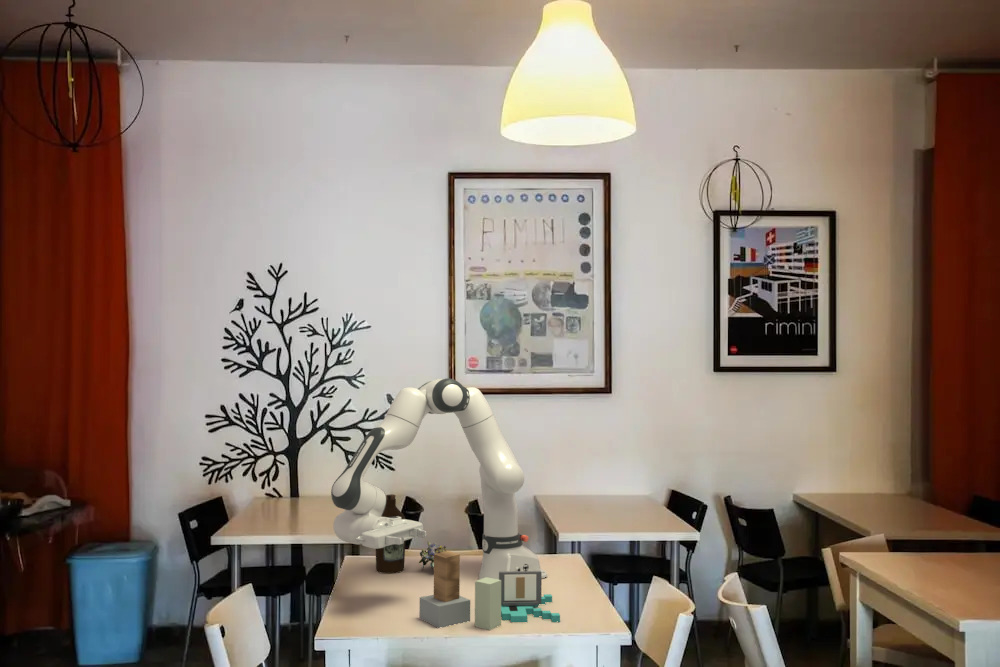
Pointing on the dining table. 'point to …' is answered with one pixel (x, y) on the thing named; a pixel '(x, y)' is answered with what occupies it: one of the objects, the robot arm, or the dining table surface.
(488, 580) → the sage block
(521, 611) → the alien figure
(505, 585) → the grey picture frame
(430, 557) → the passion flower
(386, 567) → the olive oil
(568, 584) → the dining table surface
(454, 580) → the walnut block
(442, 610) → the slate base block
